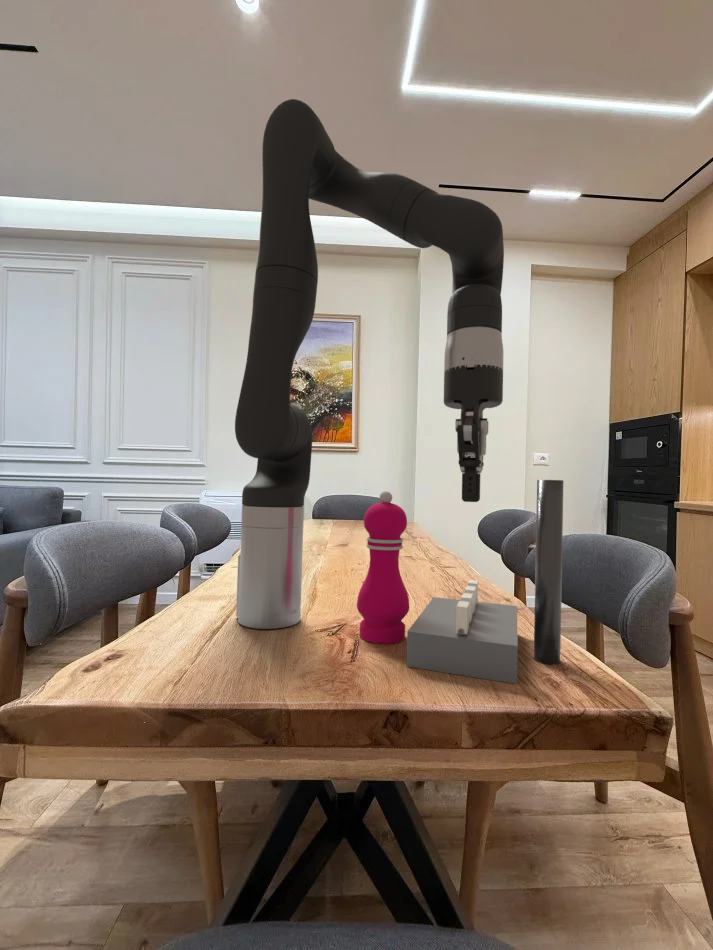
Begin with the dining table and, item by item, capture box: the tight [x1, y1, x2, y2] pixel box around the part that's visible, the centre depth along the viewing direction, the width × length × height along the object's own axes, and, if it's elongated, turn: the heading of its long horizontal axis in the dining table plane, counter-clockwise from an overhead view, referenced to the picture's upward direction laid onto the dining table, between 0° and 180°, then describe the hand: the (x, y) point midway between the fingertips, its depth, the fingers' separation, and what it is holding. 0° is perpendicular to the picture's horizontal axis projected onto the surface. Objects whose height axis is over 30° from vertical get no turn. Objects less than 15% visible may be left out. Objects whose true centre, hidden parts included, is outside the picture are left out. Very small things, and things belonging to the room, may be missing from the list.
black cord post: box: [533, 479, 564, 665], centre depth 56 cm, size 3×3×22 cm
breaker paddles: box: [456, 579, 479, 635], centre depth 59 cm, size 1×16×3 cm, turn 160°
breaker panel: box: [406, 596, 519, 685], centre depth 59 cm, size 12×18×4 cm, turn 161°
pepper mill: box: [356, 490, 410, 645], centre depth 63 cm, size 7×7×20 cm
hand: (470, 501), depth 60 cm, fingers closed
